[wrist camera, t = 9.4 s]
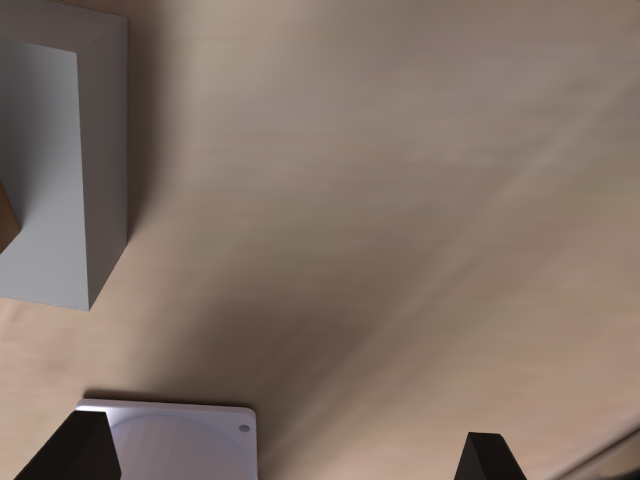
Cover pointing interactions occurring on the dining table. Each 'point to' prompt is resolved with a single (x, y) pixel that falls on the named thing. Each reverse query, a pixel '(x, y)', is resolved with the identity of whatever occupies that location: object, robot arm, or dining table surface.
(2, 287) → the slate base block
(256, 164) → the dining table surface
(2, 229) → the walnut block
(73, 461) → the robot arm
